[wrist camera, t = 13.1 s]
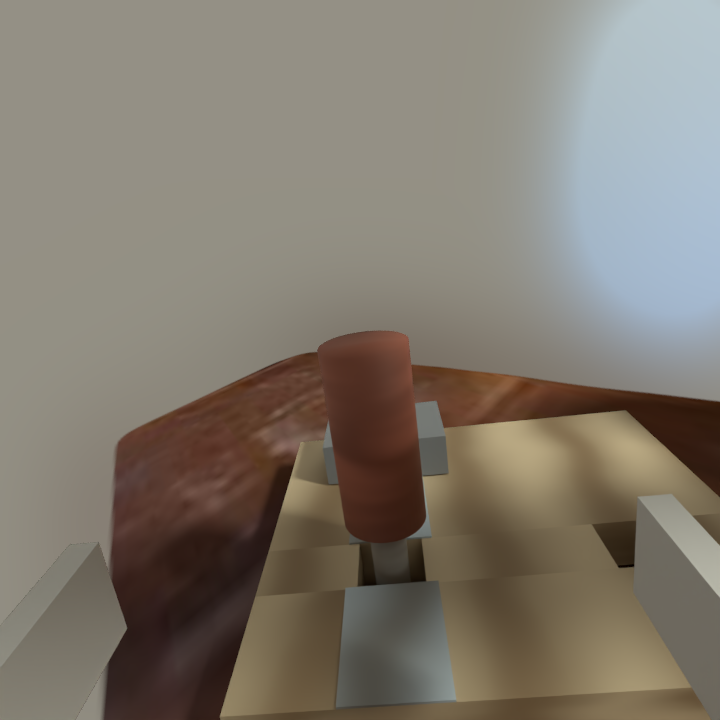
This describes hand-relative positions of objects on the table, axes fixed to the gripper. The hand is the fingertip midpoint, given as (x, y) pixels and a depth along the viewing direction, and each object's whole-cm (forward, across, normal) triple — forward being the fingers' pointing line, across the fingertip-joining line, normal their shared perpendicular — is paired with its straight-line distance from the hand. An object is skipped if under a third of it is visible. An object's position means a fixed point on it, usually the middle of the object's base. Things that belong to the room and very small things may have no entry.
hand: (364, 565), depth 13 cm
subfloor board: (+12, +5, -10) cm, 17 cm away
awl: (+9, 0, -10) cm, 14 cm away
